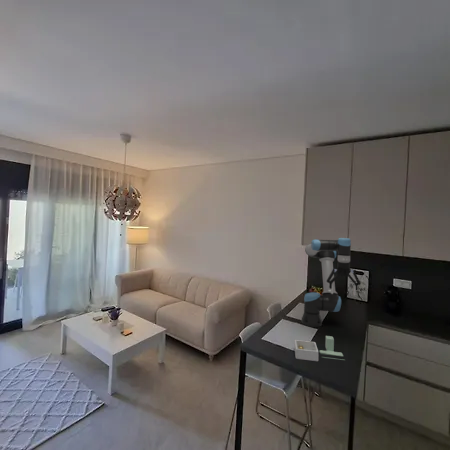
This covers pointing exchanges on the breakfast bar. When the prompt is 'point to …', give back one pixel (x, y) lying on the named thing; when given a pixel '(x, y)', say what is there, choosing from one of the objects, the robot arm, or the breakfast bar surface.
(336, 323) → the breakfast bar surface
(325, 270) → the robot arm
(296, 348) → the tub
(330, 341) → the green stepped block
